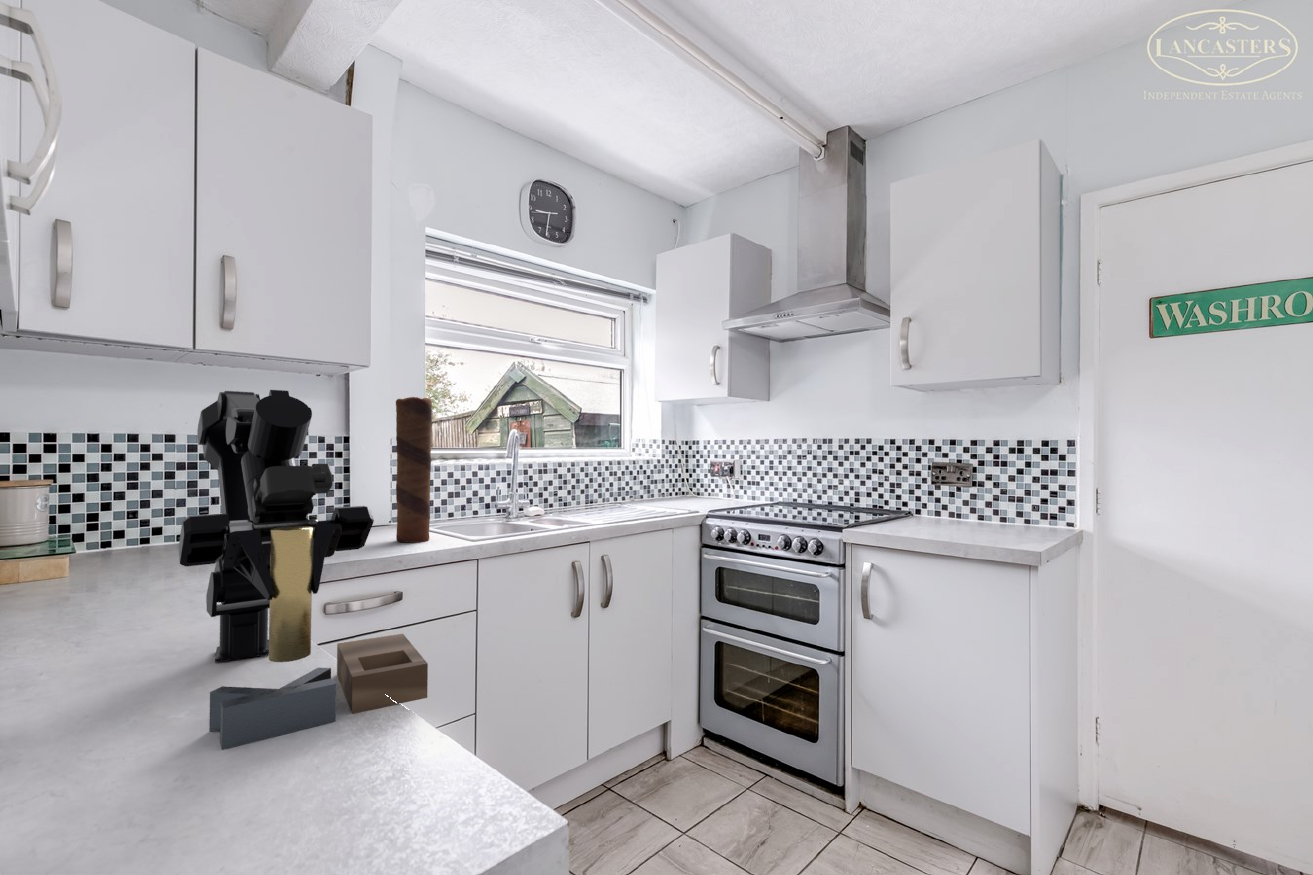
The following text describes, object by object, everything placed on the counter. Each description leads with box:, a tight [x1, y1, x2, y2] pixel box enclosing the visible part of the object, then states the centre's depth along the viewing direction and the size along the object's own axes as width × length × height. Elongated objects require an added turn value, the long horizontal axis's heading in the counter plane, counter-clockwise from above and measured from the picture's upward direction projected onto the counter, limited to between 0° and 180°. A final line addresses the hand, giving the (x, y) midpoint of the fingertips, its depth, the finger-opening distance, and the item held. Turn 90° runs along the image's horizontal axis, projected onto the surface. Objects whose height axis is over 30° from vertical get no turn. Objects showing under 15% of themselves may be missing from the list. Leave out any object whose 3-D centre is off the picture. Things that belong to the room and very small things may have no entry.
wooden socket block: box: [336, 633, 429, 714], centre depth 77 cm, size 14×8×4 cm, turn 33°
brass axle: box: [268, 526, 313, 663], centre depth 69 cm, size 4×4×14 cm
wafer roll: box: [395, 396, 433, 543], centre depth 196 cm, size 10×11×45 cm
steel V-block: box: [208, 667, 337, 750], centre depth 66 cm, size 7×11×4 cm, turn 129°
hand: (293, 594), depth 68 cm, fingers closed on brass axle, 4 cm apart
